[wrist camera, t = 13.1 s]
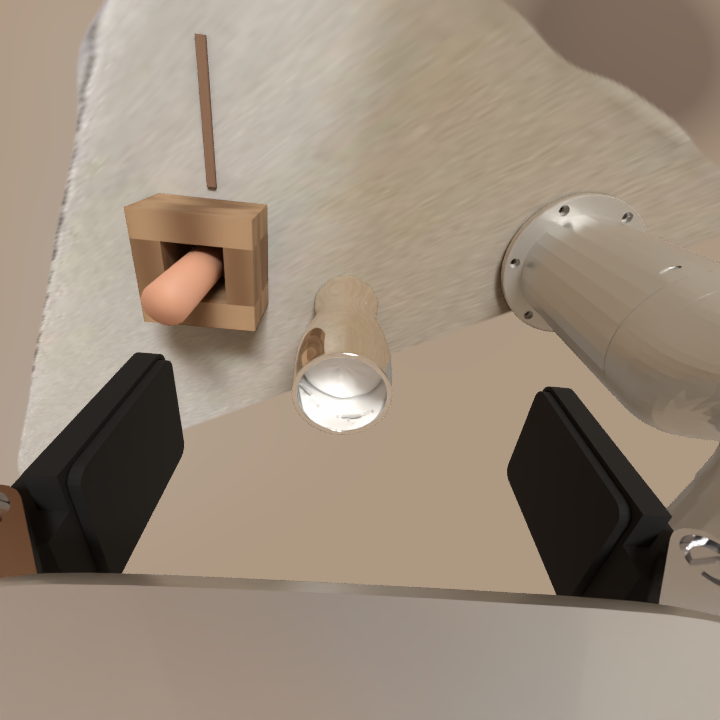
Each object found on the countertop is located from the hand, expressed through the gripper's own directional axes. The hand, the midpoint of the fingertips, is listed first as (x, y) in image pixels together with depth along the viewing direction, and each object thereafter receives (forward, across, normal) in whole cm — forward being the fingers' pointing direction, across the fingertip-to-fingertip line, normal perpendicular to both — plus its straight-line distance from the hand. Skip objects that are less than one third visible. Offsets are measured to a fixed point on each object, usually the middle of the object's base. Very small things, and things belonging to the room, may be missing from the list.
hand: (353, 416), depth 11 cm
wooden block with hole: (+28, +12, +5) cm, 31 cm away
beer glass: (+28, 0, +9) cm, 30 cm away
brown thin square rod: (+28, +12, -6) cm, 31 cm away
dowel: (+28, +12, +5) cm, 31 cm away
